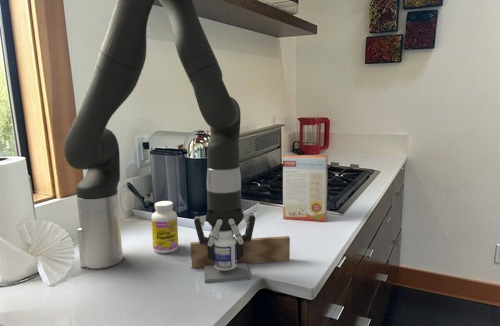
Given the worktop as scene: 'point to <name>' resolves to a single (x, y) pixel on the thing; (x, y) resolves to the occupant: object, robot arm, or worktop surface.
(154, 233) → the supplement bottle
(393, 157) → the worktop surface
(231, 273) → the grey pad
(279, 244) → the walnut screen
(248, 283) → the worktop surface
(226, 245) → the pill bottle
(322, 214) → the cracker box
